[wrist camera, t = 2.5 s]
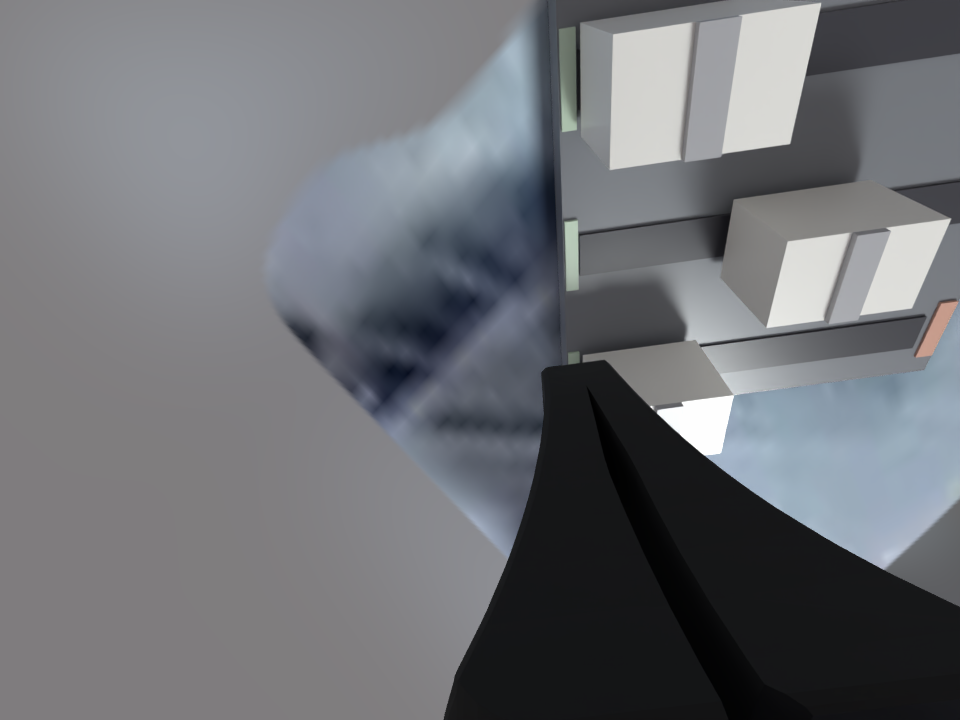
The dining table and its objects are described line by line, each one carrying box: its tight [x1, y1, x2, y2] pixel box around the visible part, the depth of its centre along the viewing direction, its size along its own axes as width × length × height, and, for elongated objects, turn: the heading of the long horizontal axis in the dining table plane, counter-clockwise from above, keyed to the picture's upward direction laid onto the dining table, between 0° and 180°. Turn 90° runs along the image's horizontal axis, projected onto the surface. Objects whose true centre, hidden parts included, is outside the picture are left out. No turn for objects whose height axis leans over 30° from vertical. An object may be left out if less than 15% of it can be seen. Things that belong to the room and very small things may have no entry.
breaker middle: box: [720, 180, 951, 328], centre depth 15 cm, size 3×4×3 cm, turn 97°
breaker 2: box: [583, 340, 734, 455], centre depth 18 cm, size 3×4×3 cm, turn 97°
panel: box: [548, 0, 960, 395], centre depth 17 cm, size 14×14×1 cm
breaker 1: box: [580, 0, 821, 170], centre depth 12 cm, size 3×4×3 cm, turn 97°
